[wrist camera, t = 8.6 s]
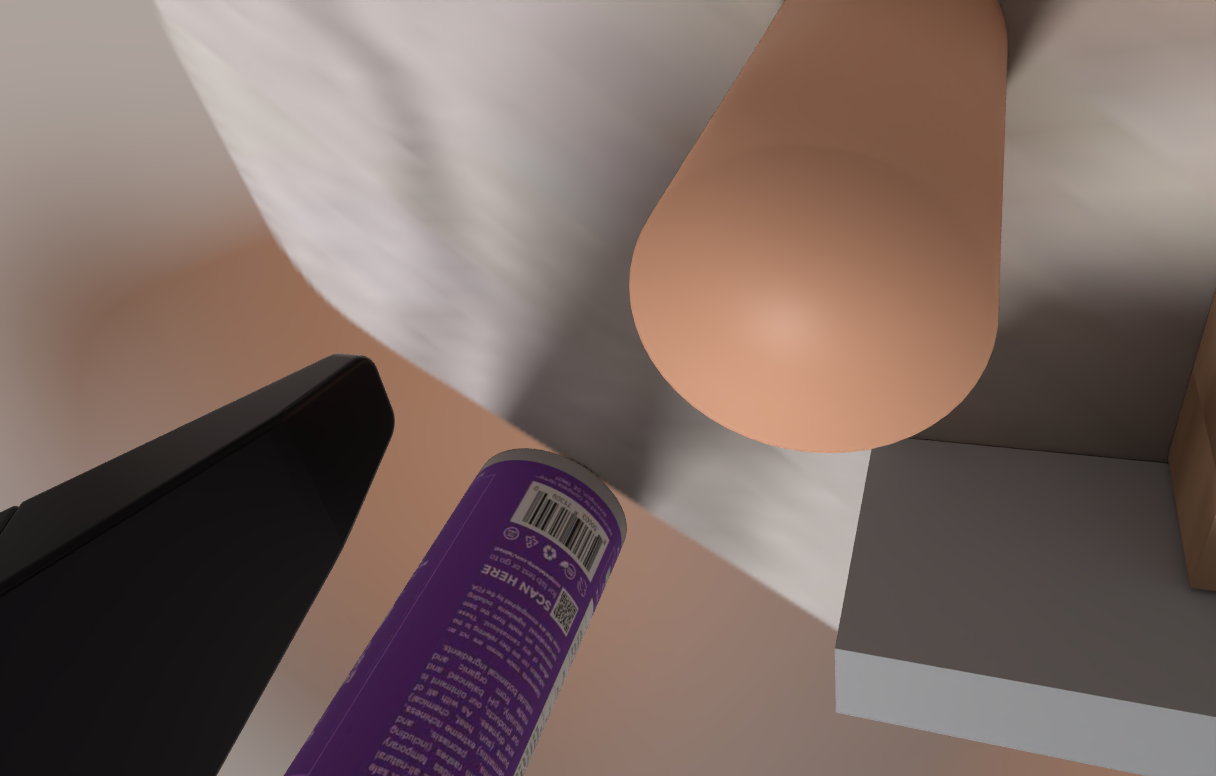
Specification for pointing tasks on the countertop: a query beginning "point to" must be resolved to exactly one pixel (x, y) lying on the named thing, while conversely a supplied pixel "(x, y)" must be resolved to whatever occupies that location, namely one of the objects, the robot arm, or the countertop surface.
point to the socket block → (1198, 463)
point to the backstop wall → (1029, 607)
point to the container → (478, 630)
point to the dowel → (837, 228)
